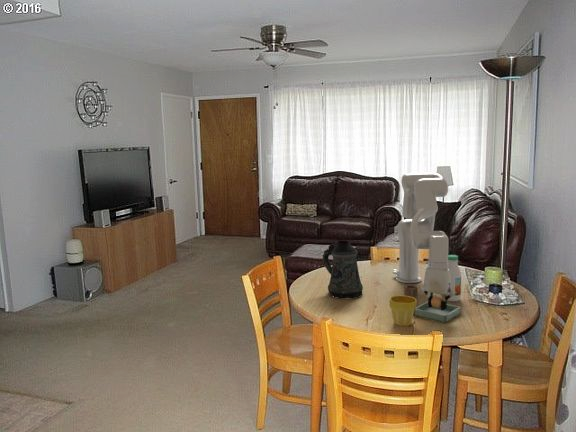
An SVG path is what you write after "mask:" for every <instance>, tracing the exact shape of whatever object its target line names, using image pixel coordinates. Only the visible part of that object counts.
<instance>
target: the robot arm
mask: <svg viewBox="0 0 576 432" xmlns="http://www.w3.org/2000/svg"><path fill="white" fill-rule="evenodd" d="M400 183H401V187H402V190H403V201H402V216H403V218H404V219H401V220H400V221H398V223H397V234H398V241H399V242H398V245H399V247H398V249H399V252H398V256H399V257H398V259H399V260H398V261H399V262H398V267H399V268H398V269H395V268H394V269H393V270H392V274H393V275H396V276H395V281H397V282H399V283H404V284H416V283H420V282H421V281H422V277H420V276H419V250H428V260H426V261H425V264H427V266H426V268H425V271H424V279H423V284H422V286H420V290H422V292H423V293H424V294H425V296H426V298H427V301H428V305H429V308H431V307H432V304H431V299H432V298H433V297H434V294H437V295H441V296H440V297H441V298H442V301H441V310H442V311H443V310H445V309H446V308H447V304H448V301H447V300H448V299H449V298H450V297H452V296H454V295H455V292H454V291H453V289H452V288H451V276H450V270H449V269H448V255H449V236H448V235H447V234H446V232H444V231H442V230H434V228H435V221H436V215H437V212H438V210H439V206H438V203H437V198H444V197H446V196H447V195H448V192H449V186H448V183H447V180H446V179H445V178H444V176H442V175H441V174H440V173H437V172H410V173H409V172H407V173H404V174H403V175H402V176H401V182H400ZM448 292H450V294H449V295H447V293H448Z"/></svg>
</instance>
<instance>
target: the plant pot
mask: <svg viewBox="0 0 576 432" xmlns="http://www.w3.org/2000/svg"><path fill="white" fill-rule="evenodd" d="M388 302H389V309H391V314H392V319H393V323H394V324H395V325H397V326H401V327H407V326H410V325H412V323H413V318H414V315H413V314H414V310H415V309H416V307H418V306H417V305H418V299H417V300H416V299H415V298H413V297H410V296H404V294H401V295H400V294H399V295H392V296H391V297H389V301H388Z"/></svg>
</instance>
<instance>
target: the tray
mask: <svg viewBox="0 0 576 432" xmlns="http://www.w3.org/2000/svg"><path fill="white" fill-rule="evenodd" d="M459 314H460V315H461V314H462V307H461V306H458V305H454V304H448V303H447V308H446V309H445V310H443V311H442V310H441V308H434V307H433V306H432V307H431V308H429V305H428V300H427V301H425V302H423V303H422V304H419V305H418V306H417V307H416V309H415V310H414V314H413V317H414V316H415V317H418V318H419V317H420V318H422V319H427V320H431V321H433V322H438V323H442V324H447V323H449V322H450V321H452V320H454V319H455V318H456V316H457V317H458V316H460V315H459Z"/></svg>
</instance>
